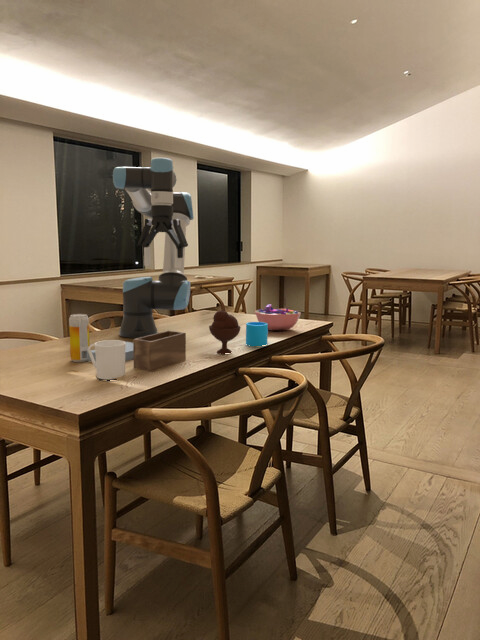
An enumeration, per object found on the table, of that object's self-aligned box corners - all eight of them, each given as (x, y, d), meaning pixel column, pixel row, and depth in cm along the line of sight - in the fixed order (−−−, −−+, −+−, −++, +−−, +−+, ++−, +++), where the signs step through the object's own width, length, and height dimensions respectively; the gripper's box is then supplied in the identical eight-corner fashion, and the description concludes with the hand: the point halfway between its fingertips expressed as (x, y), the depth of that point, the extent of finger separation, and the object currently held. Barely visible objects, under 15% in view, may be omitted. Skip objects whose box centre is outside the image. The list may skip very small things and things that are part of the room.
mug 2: (260, 348, 198) (260, 326, 196) (241, 345, 202) (242, 324, 201) (276, 342, 208) (276, 321, 206) (257, 340, 212) (258, 319, 211)
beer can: (82, 357, 180) (81, 313, 177) (93, 360, 176) (92, 315, 173) (66, 360, 175) (65, 315, 173) (77, 363, 171) (76, 317, 169)
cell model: (299, 335, 223) (300, 308, 221) (251, 332, 226) (252, 306, 224) (301, 327, 240) (302, 302, 238) (256, 325, 243) (257, 301, 241)
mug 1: (129, 373, 161) (128, 340, 159) (123, 382, 152) (122, 346, 150) (92, 373, 160) (91, 339, 159) (84, 381, 152) (83, 346, 150)
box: (133, 371, 163) (133, 339, 162) (168, 360, 178) (168, 330, 176) (151, 374, 160) (151, 342, 158) (185, 363, 174) (185, 332, 173)
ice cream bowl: (213, 357, 183) (213, 313, 180) (206, 349, 193) (206, 308, 191) (243, 355, 186) (243, 312, 183) (234, 348, 196) (235, 308, 194)
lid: (87, 363, 172) (87, 351, 172) (126, 352, 188) (126, 341, 187) (113, 368, 167) (112, 355, 166) (150, 357, 182) (150, 345, 182)
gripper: (127, 204, 188) (128, 265, 191) (184, 204, 175) (184, 269, 179) (141, 205, 194) (142, 264, 198) (198, 205, 182) (197, 267, 185)
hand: (162, 266), depth 188 cm, fingers open, 13 cm apart
